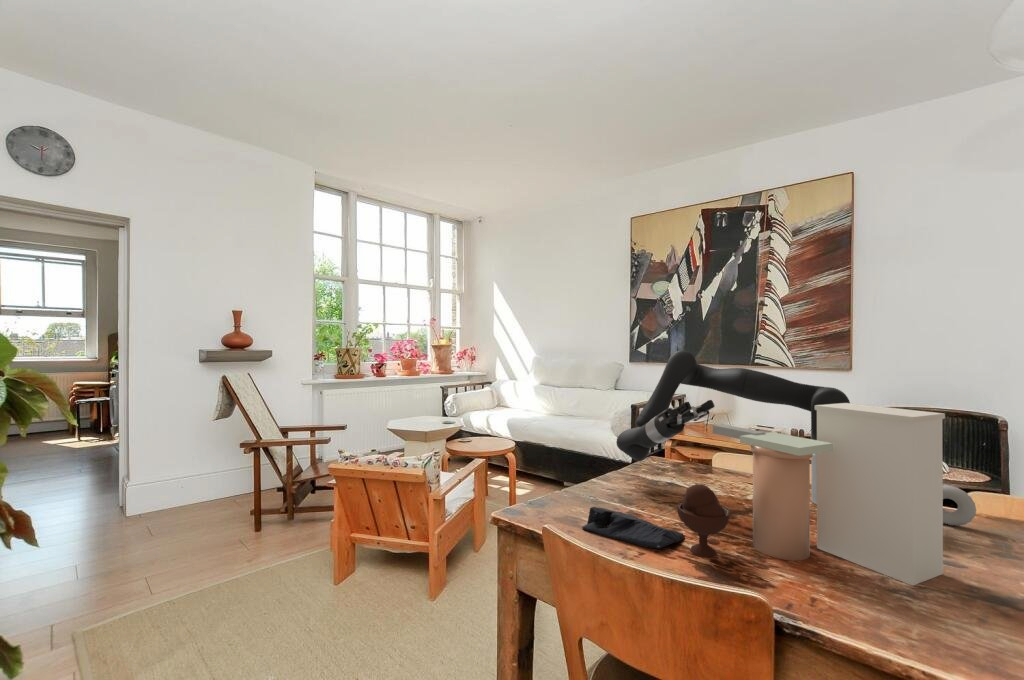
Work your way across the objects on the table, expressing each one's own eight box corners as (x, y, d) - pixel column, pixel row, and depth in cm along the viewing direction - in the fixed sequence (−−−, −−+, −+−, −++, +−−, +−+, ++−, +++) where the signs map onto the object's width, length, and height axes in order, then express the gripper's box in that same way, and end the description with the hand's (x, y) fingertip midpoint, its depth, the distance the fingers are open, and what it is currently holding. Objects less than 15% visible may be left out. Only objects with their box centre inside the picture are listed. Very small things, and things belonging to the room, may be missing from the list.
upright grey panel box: (846, 539, 111) (846, 402, 111) (945, 574, 94) (945, 413, 94) (814, 547, 106) (814, 405, 106) (913, 586, 89) (913, 417, 89)
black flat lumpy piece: (657, 559, 101) (657, 537, 101) (576, 529, 117) (576, 510, 117) (690, 539, 111) (690, 519, 111) (612, 514, 127) (612, 496, 127)
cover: (732, 431, 123) (732, 423, 123) (832, 450, 100) (832, 441, 100) (702, 434, 118) (702, 426, 118) (799, 455, 96) (799, 445, 96)
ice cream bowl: (737, 565, 97) (737, 492, 97) (680, 560, 99) (680, 489, 99) (724, 544, 107) (724, 478, 108) (673, 540, 110) (673, 475, 110)
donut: (977, 529, 117) (977, 488, 117) (975, 532, 115) (975, 491, 115) (924, 517, 125) (924, 479, 125) (922, 520, 123) (921, 482, 123)
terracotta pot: (773, 534, 113) (773, 438, 113) (825, 555, 102) (824, 448, 102) (738, 543, 108) (738, 442, 108) (788, 565, 97) (788, 453, 97)
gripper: (641, 416, 138) (676, 392, 126) (677, 413, 145) (714, 390, 132) (650, 440, 135) (687, 418, 122) (687, 436, 141) (725, 415, 128)
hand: (701, 403), depth 127 cm, fingers open, 8 cm apart
